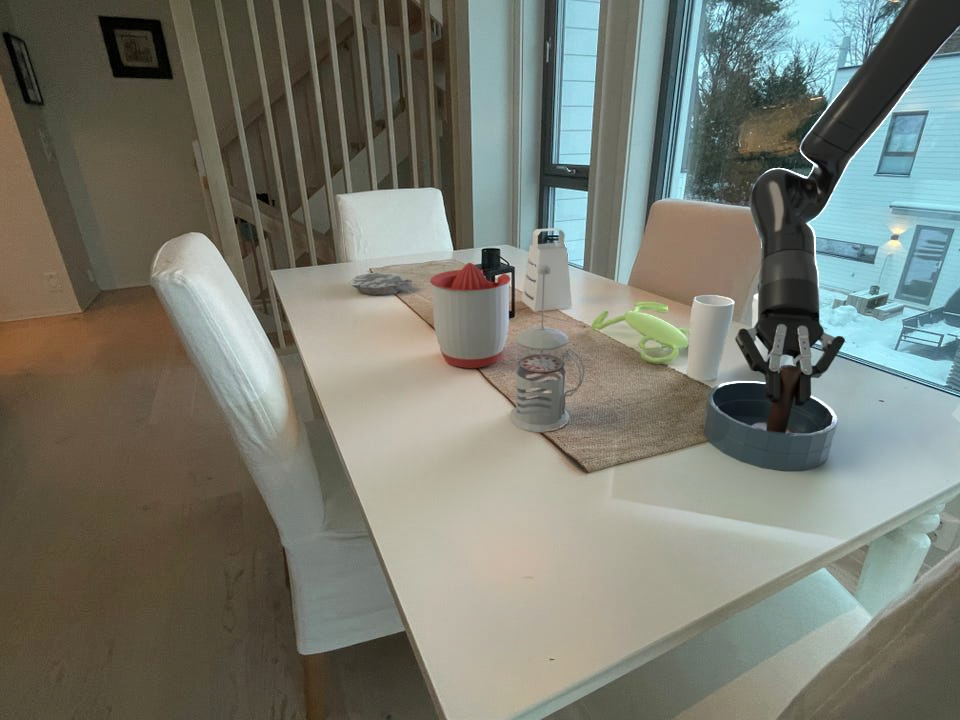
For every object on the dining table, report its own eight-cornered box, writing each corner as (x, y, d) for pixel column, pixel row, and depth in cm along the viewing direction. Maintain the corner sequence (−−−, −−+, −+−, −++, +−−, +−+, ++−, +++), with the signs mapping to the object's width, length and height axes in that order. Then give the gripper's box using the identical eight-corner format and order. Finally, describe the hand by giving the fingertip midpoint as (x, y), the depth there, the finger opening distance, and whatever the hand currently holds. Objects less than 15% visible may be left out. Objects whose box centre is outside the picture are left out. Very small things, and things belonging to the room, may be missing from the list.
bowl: (810, 422, 80) (819, 388, 78) (841, 483, 66) (854, 444, 64) (698, 408, 85) (704, 375, 82) (706, 463, 71) (713, 425, 68)
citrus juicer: (529, 352, 108) (531, 258, 100) (477, 381, 96) (474, 276, 88) (473, 337, 117) (471, 249, 110) (419, 361, 105) (412, 265, 97)
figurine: (649, 316, 128) (651, 295, 126) (728, 354, 105) (733, 329, 103) (583, 326, 123) (585, 303, 121) (652, 368, 100) (655, 341, 97)
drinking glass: (683, 383, 93) (695, 304, 87) (679, 368, 99) (690, 293, 93) (723, 386, 92) (738, 306, 86) (717, 371, 98) (730, 295, 92)
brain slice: (337, 290, 156) (336, 281, 155) (380, 279, 168) (379, 270, 167) (378, 301, 145) (377, 291, 144) (422, 288, 157) (421, 279, 155)
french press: (523, 397, 89) (525, 255, 79) (588, 411, 84) (599, 261, 74) (499, 423, 81) (498, 269, 72) (569, 441, 76) (578, 277, 66)
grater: (521, 300, 143) (522, 227, 135) (556, 297, 145) (559, 225, 138) (535, 311, 134) (536, 234, 126) (571, 307, 136) (576, 231, 128)
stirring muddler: (791, 436, 75) (810, 361, 70) (801, 458, 70) (822, 380, 65) (746, 430, 77) (762, 357, 72) (752, 452, 72) (770, 374, 67)
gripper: (740, 273, 73) (737, 387, 67) (854, 278, 69) (860, 400, 63) (730, 298, 80) (725, 404, 74) (832, 305, 76) (836, 417, 70)
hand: (787, 401), depth 68 cm, fingers closed on stirring muddler, 2 cm apart
